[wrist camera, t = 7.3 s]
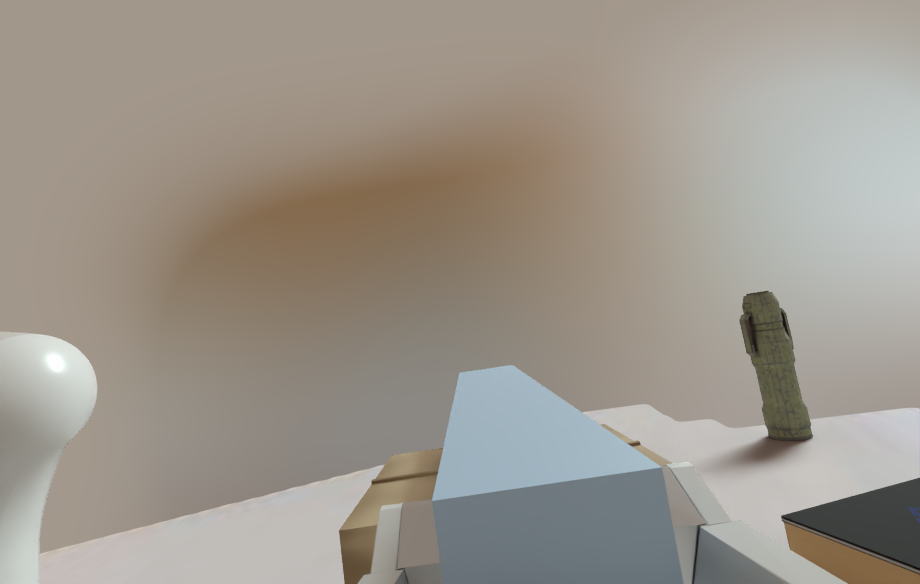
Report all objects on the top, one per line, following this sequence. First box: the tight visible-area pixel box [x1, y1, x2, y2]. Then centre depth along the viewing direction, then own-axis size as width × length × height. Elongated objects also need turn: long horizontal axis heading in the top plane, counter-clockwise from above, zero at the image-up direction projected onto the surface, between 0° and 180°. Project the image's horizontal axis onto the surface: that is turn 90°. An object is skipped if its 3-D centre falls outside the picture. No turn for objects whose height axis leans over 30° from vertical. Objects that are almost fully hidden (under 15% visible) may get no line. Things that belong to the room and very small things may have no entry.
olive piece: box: [740, 291, 813, 441], centre depth 109 cm, size 9×12×35 cm
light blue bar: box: [432, 365, 684, 584], centre depth 20 cm, size 4×26×4 cm, turn 178°
